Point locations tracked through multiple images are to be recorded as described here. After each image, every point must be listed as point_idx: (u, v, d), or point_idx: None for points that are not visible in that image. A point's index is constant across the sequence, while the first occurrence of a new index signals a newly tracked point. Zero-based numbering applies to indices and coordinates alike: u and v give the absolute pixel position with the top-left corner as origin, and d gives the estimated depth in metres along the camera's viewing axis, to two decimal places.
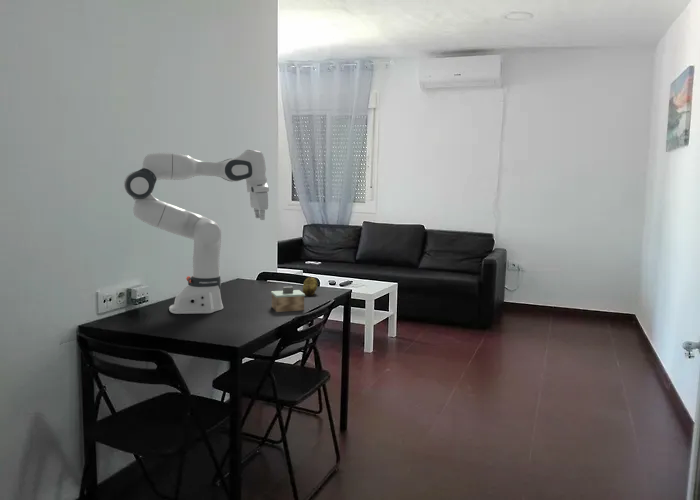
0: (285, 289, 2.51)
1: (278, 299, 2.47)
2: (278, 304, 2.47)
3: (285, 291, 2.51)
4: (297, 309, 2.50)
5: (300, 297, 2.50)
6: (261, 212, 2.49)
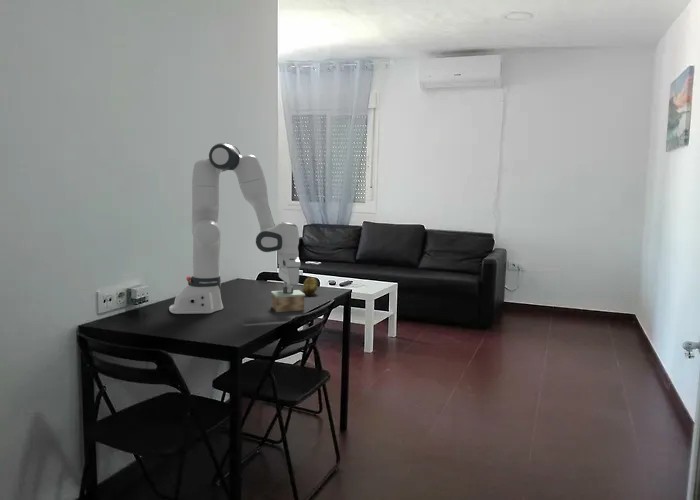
0: (285, 289, 2.51)
1: (278, 299, 2.47)
2: (278, 304, 2.47)
3: (285, 291, 2.51)
4: (297, 309, 2.50)
5: (300, 297, 2.50)
6: (288, 285, 2.49)
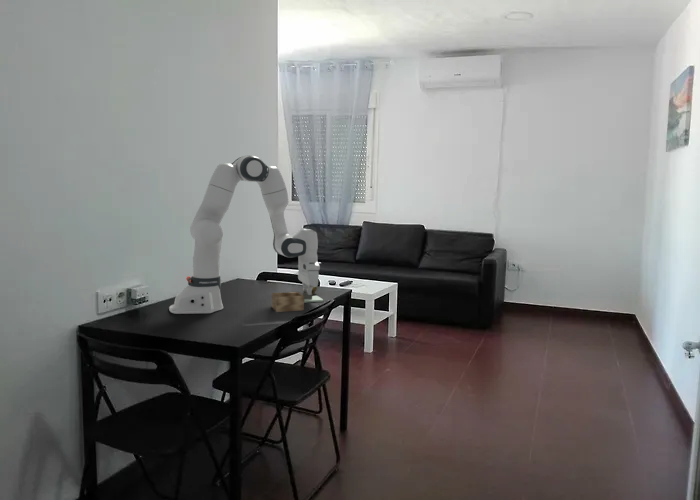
0: (305, 295, 2.69)
1: (278, 299, 2.47)
2: (278, 304, 2.47)
3: (305, 297, 2.69)
4: (297, 309, 2.50)
5: (300, 297, 2.50)
6: (309, 288, 2.65)
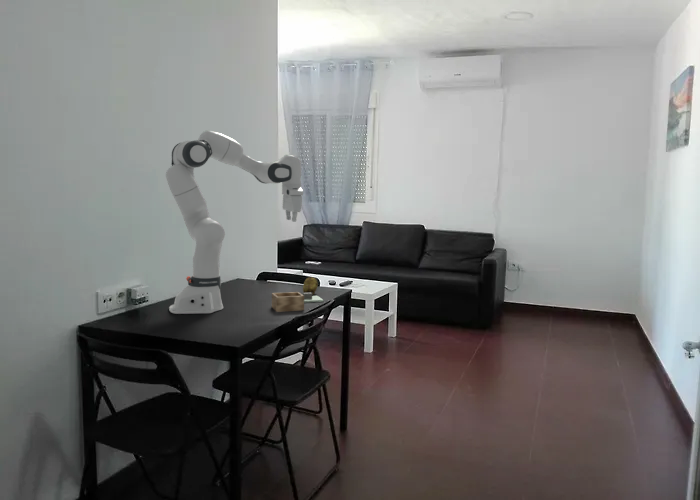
0: (305, 295, 2.69)
1: (278, 299, 2.47)
2: (278, 304, 2.47)
3: (305, 297, 2.69)
4: (297, 309, 2.50)
5: (300, 297, 2.50)
6: (294, 214, 2.65)
